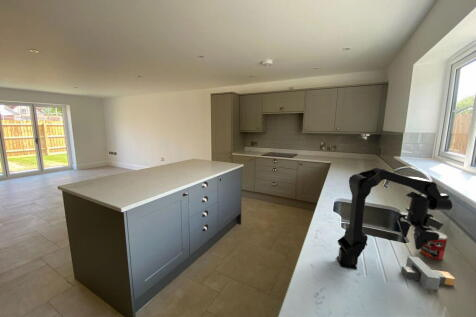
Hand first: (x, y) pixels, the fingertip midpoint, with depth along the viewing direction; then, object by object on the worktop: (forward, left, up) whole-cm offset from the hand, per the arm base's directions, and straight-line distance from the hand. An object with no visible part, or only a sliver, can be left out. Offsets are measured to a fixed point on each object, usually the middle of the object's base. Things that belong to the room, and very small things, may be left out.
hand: (410, 243), depth 84 cm
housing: (+2, -6, -11) cm, 13 cm away
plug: (+4, -6, -11) cm, 13 cm away
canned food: (+17, +12, -11) cm, 23 cm away
